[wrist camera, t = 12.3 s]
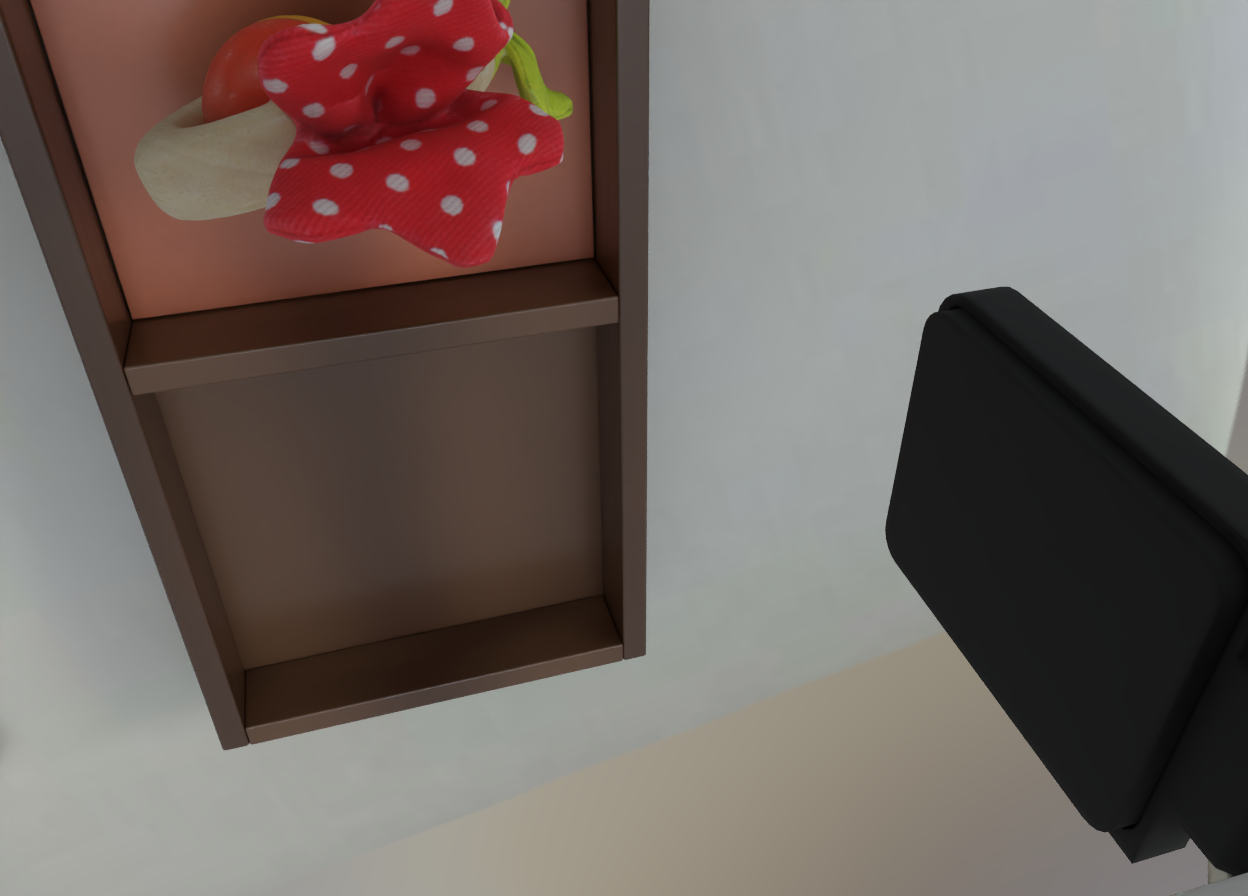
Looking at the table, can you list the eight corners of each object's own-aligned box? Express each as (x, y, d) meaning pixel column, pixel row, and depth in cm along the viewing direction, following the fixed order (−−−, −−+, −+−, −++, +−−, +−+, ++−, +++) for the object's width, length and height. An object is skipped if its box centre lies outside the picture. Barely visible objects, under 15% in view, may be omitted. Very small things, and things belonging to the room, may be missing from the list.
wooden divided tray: (608, -319, 22) (652, -321, 20) (621, 596, 37) (646, 655, 35) (-115, -314, 19) (-167, -317, 16) (224, 680, 34) (222, 752, 32)
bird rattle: (341, 175, 27) (661, 60, 24) (170, 478, 20) (609, 361, 17) (189, -59, 24) (545, -231, 21) (-103, 200, 16) (406, -18, 13)
